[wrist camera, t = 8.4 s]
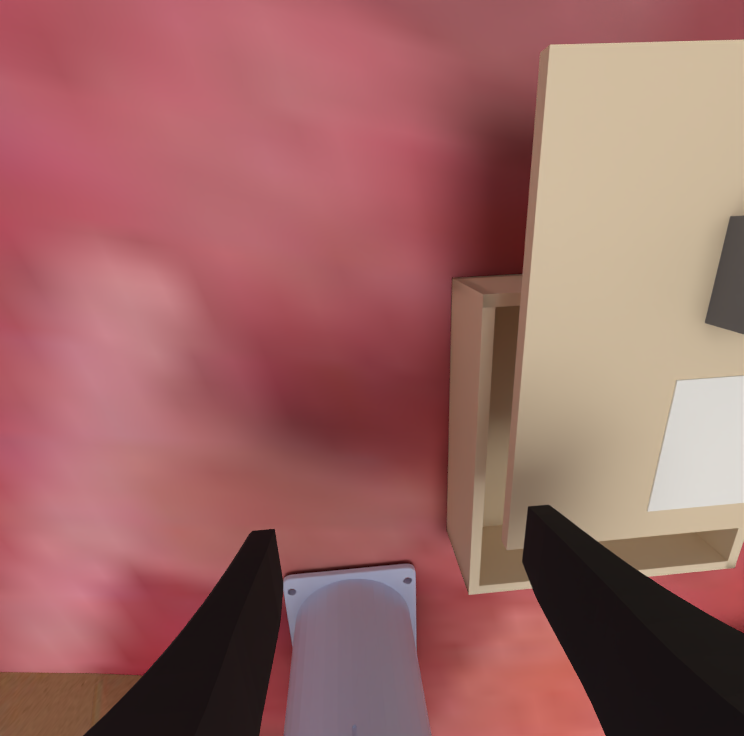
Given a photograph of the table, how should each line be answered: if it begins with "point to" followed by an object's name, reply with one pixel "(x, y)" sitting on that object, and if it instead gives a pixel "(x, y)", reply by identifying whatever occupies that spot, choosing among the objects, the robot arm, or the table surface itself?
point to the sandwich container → (57, 701)
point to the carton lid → (632, 293)
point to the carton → (491, 445)
